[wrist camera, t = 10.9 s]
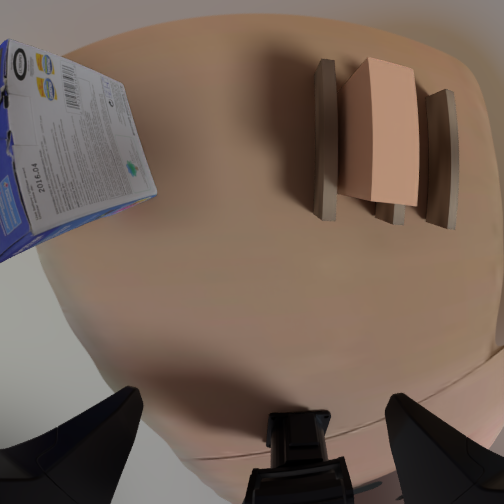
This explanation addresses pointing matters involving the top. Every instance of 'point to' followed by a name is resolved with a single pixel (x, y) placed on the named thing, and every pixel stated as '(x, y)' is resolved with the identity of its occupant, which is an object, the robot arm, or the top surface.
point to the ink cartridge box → (62, 148)
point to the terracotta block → (379, 134)
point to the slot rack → (440, 155)
